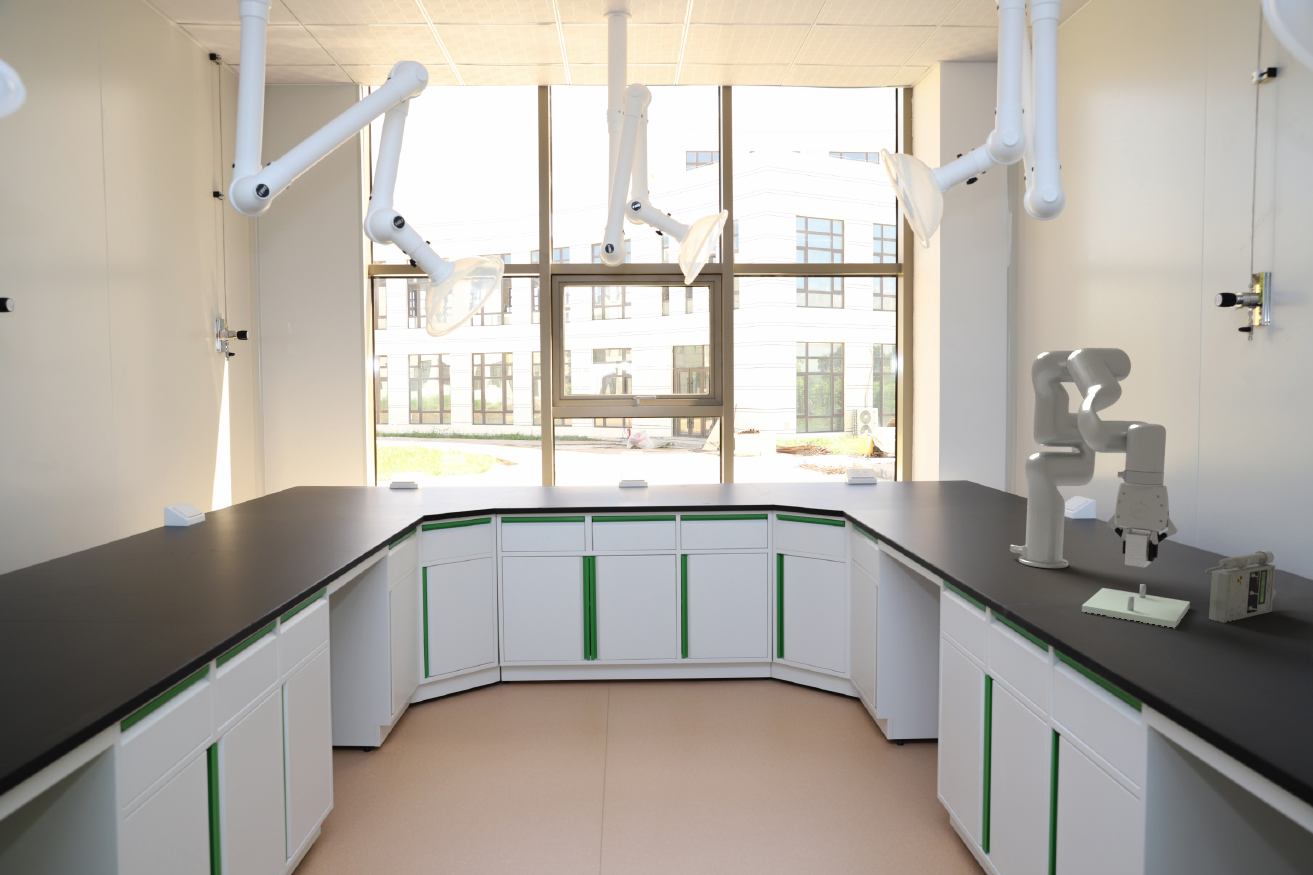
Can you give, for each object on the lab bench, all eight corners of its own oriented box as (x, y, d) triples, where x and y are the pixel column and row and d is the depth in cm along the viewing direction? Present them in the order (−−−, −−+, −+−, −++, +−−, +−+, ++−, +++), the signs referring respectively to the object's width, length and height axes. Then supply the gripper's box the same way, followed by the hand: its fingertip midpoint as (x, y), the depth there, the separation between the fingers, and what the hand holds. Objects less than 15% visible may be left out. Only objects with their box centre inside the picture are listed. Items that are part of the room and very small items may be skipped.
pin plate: (1081, 611, 186) (1082, 592, 185) (1102, 593, 201) (1103, 575, 201) (1175, 628, 174) (1176, 607, 174) (1189, 608, 190) (1190, 588, 189)
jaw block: (1124, 564, 184) (1126, 533, 183) (1133, 557, 192) (1135, 527, 191) (1145, 567, 181) (1146, 536, 181) (1153, 559, 189) (1155, 529, 189)
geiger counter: (1232, 560, 176) (1294, 550, 188) (1201, 554, 182) (1263, 544, 194) (1227, 624, 178) (1289, 609, 189) (1197, 616, 183) (1258, 602, 195)
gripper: (1098, 476, 188) (1094, 556, 189) (1185, 483, 177) (1180, 567, 178) (1106, 474, 193) (1102, 551, 195) (1190, 480, 183) (1185, 562, 184)
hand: (1139, 558), depth 187 cm, fingers closed on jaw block, 4 cm apart
